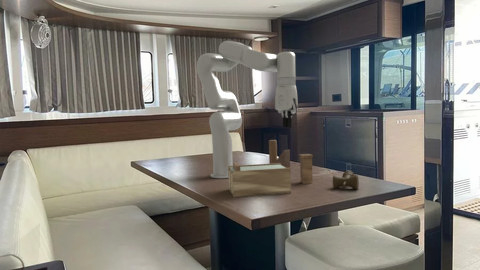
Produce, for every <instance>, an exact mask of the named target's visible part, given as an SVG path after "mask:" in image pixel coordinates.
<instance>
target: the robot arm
mask: <svg viewBox="0 0 480 270" xmlns="http://www.w3.org/2000/svg"><path fill="white" fill-rule="evenodd" d="M239 64H240V65H243V66H245V67H246V68H249V69H252V70H254V71H259V72H265V73H266V72H267V73H276V83H277V84H276V85H277V86H276V88H275V95H274V96H275V97H274V98H275V99H274V107H275V108H274V109H275V110H276V111H277V113H279V114H281V118H282V127H283V128H291V127H292V118H293V114H296V113H297V109H298V104H299V103H298V101H299V100H298V91H297V86H296V80H297V78H296V54H295V52H292V51H282V52H278V53H277V54H276V53H275V54H274V53H268V52H261V51H258V50H255V49H253V48H252V47H251V46H249V45H246V44H244V43H242V42H238V41H233V40H224V41H222V42H221V43H220V44H219V46H218V53H214V52H213V53H212V52H209V53H208V52H207V53H203V54H202V55H200V56H199V58H198V59H197V62H196V73H197V76H198V79H199V81H200V83H201V86H202V88H203V94H204V97H205V100H206V104H207V107H208V108H209V109H210V110H213V111H216V112H213V113H212V114H211V115H210V117H209V121H208V122H209V128H210V131H211V132H210V133H211V144H212V165H213V167H212V168H213V169H212V170H213V173H211V174H210V178H212V179H229V176H228V166H233V163H234V162H233V158H234V157H233V139H232V136H231V133H230V132H229V131H235V130H238V129H239V128H241V127H242V123H243V116H242V114H241V110H240V107H239V103H238V100H237V97H236V95H235V94H234V92H232V91H230V90H222V87H221V85H220V80H219V79H218V77H217V76H216V75H215V74H214V72H215V73H216V72H220V73H226V72H229V71H231V70H232V69H233V68H235V67H236V66H237V65H239Z"/></svg>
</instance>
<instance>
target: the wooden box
mask: <svg viewBox="0 0 480 270" xmlns="http://www.w3.org/2000/svg"><path fill="white" fill-rule="evenodd" d="M239 165H240V164H239ZM264 165H281V163H271V164H270V163H259V164H257V163H256V164H243V165H242V164H241V165H240V167H247V166H264ZM230 167H233V166H228V176H229V178H228V190H229V192H230V194H231V195H232V197H233V198H241V197H243V198H244V197H256V196H268V195H269V196H271V195H282V194H283V195H284V194H292V179H291V178H292V175H291V172H292V171H291V167H290V168H277V169H261V170H245V171H231V170H230Z"/></svg>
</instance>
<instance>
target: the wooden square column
mask: <svg viewBox="0 0 480 270" xmlns="http://www.w3.org/2000/svg"><path fill="white" fill-rule="evenodd" d="M298 157H299V166H300V169H299V170H300V171H299V173H300V175H299V176H300V182H301V183H302V184H303V185H305V184H306V185H307V184H313V158H314V154H311V153H303V154H302V153H301V154H298Z"/></svg>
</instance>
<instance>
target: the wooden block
mask: <svg viewBox="0 0 480 270" xmlns="http://www.w3.org/2000/svg"><path fill="white" fill-rule="evenodd" d="M277 143H278V142H277V140H276V139H270V140H268V153H269V154H268V157H269V163H268V164H271V163H281V165H282V166H284V167H285V168H290V169H291V150H290V149H285V150H283V151H282V153H281V154H280V155H279V156H278V144H277Z"/></svg>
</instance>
